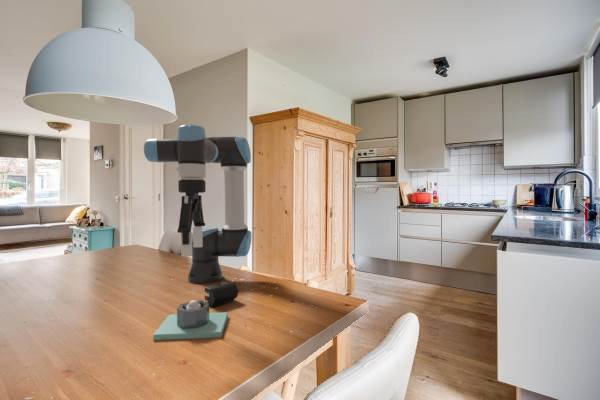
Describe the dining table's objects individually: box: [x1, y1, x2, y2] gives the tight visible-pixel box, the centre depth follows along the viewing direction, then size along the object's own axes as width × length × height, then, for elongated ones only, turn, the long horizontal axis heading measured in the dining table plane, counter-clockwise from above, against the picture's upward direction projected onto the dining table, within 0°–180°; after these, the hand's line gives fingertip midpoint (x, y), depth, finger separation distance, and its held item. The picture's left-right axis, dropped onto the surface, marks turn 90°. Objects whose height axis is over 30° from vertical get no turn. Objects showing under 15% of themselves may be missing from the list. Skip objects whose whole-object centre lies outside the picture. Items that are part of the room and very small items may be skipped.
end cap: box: [204, 281, 239, 308], centre depth 112 cm, size 10×7×7 cm
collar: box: [176, 300, 210, 329], centre depth 92 cm, size 8×8×5 cm
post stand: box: [152, 299, 229, 341], centre depth 92 cm, size 14×18×8 cm
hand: (192, 251), depth 92 cm, fingers open, 13 cm apart
